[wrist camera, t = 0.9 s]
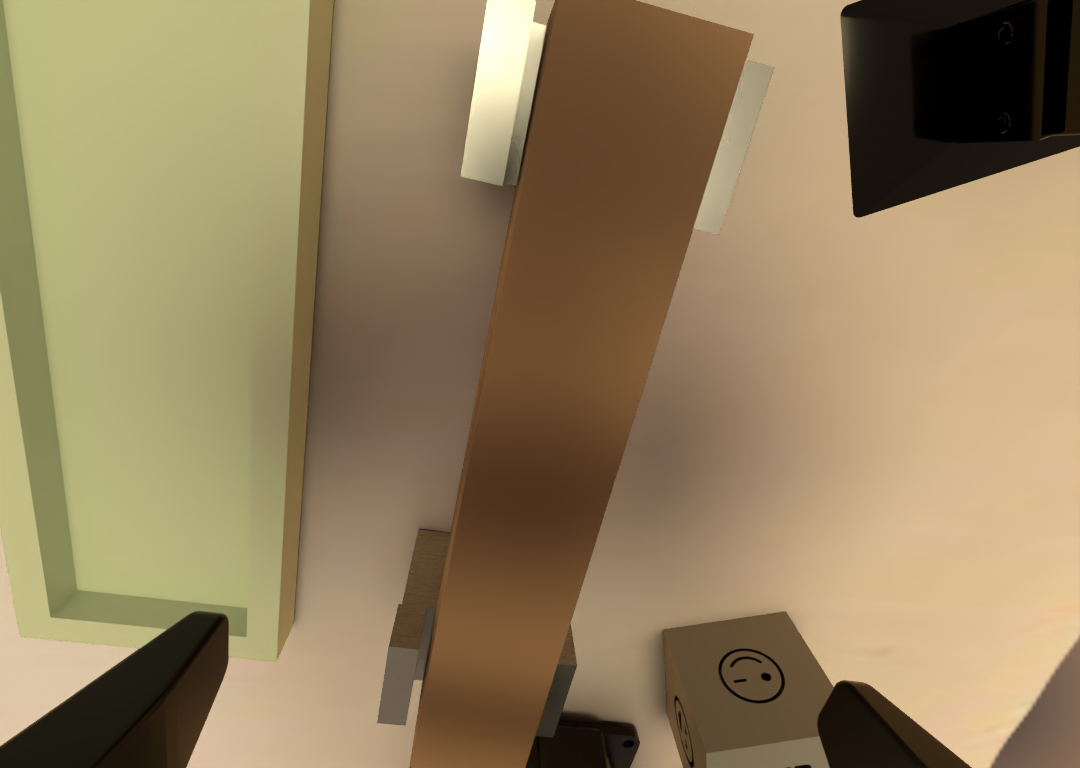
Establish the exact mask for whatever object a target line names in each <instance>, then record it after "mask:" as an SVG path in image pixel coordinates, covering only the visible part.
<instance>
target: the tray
mask: <svg viewBox="0 0 1080 768" xmlns="http://www.w3.org/2000/svg"><path fill="white" fill-rule="evenodd" d="M333 4H334V0H0V531H1V536H2V542H3V547H4V553H5V558H6V564H7V569H8V574H9V580H10V585H11V591H12V596H13V602H14V607H15V613H16V618H17V624H18V629H19V634H20V637H24V638H35V639H45V640H56V641H66V642H77V643H87V644H98V645H108V646H119V647H129V648H141V647H142V646H144V645H145V644H147V643H148V642H150V641H151V640H152V639H154V638H155V637H157V636H158V635H160V634H161V633H162V632H164V631H165V630H167V629H168V628H170V627H171V626H172V625H174V624H175V623H177V622H178V621H180V620H181V619H182V618H184V617H185V616H187V615H188V614H190V613H192V612H195V611H206V612H216V613H223V614H226V615H227V617H228V620H229V657H234V658H245V659H255V660H265V661H276V662H277V659H278V657H279V655H280V653H281V650H282V648H283V646H284V644H285V642H286V639H287V637H288V635H289V633H290V630H291V628H292V626H293V624H294V612H295V596H296V581H297V565H298V550H299V534H300V518H301V503H302V487H303V472H304V456H305V440H306V425H307V409H308V394H309V378H310V362H311V347H312V331H313V316H314V300H315V284H316V269H317V253H318V238H319V222H320V207H321V191H322V175H323V160H324V144H325V129H326V113H327V97H328V82H329V66H330V51H331V35H332V19H333Z"/></svg>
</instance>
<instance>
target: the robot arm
mask: <svg viewBox="0 0 1080 768" xmlns="http://www.w3.org/2000/svg"><path fill="white" fill-rule="evenodd" d="M228 658H229V620H228V617H227V615H226V614H223V613H216V612H206V611H195V612H192V613H190V614H188V615H187V616H185V617H184V618H182V619H181V620H180V621H178V622H177V623H175V624H174V625H172V626H171V627H170V628H168V629H167V630H165V631H164V632H162V633H161V634H160V635H158V636H157V637H155V638H154V639H152V640H151V641H150V642H148V643H147V644H145V645H144V646H142V647H141V648H140V649H138V650H137V651H135V652H134V653H133V654H131V655H130V656H128V657H127V658H125V659H124V660H123V661H121V662H120V663H118V664H117V665H115V666H114V667H113V668H111V669H110V670H108V671H107V672H105V673H104V674H103V675H101V676H100V677H98V678H97V679H95V680H94V681H93V682H91V683H90V684H88V685H87V686H85V687H84V688H83V689H81V690H80V691H78V692H77V693H75V694H74V695H73V696H71V697H70V698H68V699H67V700H65V701H64V702H63V703H61V704H60V705H58V706H57V707H55V708H54V709H53V710H51V711H50V712H48V713H47V714H46V715H44V716H43V717H41V718H40V719H38V720H37V721H36V722H34V723H33V724H31V725H30V726H28V727H27V728H26V729H24V730H23V731H21V732H20V733H18V734H17V735H16V736H14V737H13V738H11V739H10V740H8V741H7V742H6V743H4V744H3V745H1V746H0V768H186V767H187V764H188V762H189V760H190V757H191V755H192V752H193V750H194V748H195V745H196V743H197V740H198V738H199V736H200V733H201V731H202V728H203V726H204V724H205V721H206V719H207V716H208V714H209V712H210V709H211V707H212V704H213V702H214V700H215V697H216V695H217V693H218V690H219V688H220V685H221V683H222V681H223V678H224V675H225V672H226V669H227V665H228ZM817 728H818V733H819V737H820V740H821V743H822V746H823V749H824V752H825V755H826V758H827V761H828V764H829V768H971V767H970V766H969V765H968V764H966V763H965V762H964V761H963V760H962V759H960V758H959V757H958V756H957V755H955V754H954V753H953V752H952V751H950V750H949V749H948V748H947V747H946V746H944V745H943V744H942V743H941V742H939V741H938V740H937V739H936V738H934V737H933V736H932V735H931V734H930V733H928V732H927V731H926V730H925V729H923V728H922V727H921V726H920V725H918V724H917V723H916V722H915V721H914V720H912V719H911V718H910V717H909V716H907V715H906V714H905V713H904V712H902V711H901V710H900V709H899V708H898V707H896V706H895V705H894V704H893V703H891V702H890V701H889V700H888V699H886V698H885V697H884V696H883V695H882V694H880V693H879V692H878V691H877V690H875V689H874V688H873V687H872V686H870V685H868V684H866V683H863V682H855V681H846V680H843V681H840V682H838V683H837V684H836V685H835V686H834V688H833V690H832V692H831V693H830V695H829V697H828V699H827V700H826V702H825V704H824V706H823V707H822V709H821V711H820V713H819V715H818V719H817ZM639 744H640V741H639V736H638V732H637V730H635V729H634V728H631V727H622V726H611V725H599V724H588V723H576V722H564V721H559V722H558V725H557V728H556V731H555V734H554V737H541V736H535V738H534V741H533V745H532V748H531V751H530V754H529V757H528V761H527V764H526V767H525V768H630V766H631V764H632V761H633V759H634V757H635V754H636V752H637V749H638V747H639Z"/></svg>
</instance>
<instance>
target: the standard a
mask: <svg viewBox="0 0 1080 768" xmlns="http://www.w3.org/2000/svg"><path fill="white" fill-rule="evenodd" d="M449 539H450V533H445V532H437V531H429V530H422V529H419V530H418V535H417V539H416V544H415V548H414V553H413V557H412V562H411V566H410V571H409V575H408V580H407V584H406V589H405V593H404V598H403V602H402V604H399V605H398V609H397V613H396V618H395V622H394V626H393V631H392V635H391V639H390V644H389V649H388V656H387V662H386V669H385V675H384V682H383V688H382V695H381V701H380V708H379V715H378V721H377V723H383V724H395V725H406V719H407V714H408V708H409V702H410V697H411V691H412V686H413V680H423V676H424V671H425V665H426V660H427V655H428V650H429V644H430V639H431V634H432V628H433V623H434V618H435V613H436V607H437V602H438V597H439V591H440V586H441V581H442V576H443V570H444V565H445V560H446V554H447V549H448V544H449ZM576 667H577V663H576V656H575V650H574V643H573V636H572V629H571V624H570V626H569V629H568V632H567V635H566V639H565V642H564V645H563V648H562V652H561V655H560V658H559V661H558V664H557V668H556V671H555V674H554V677H553V680H552V684H551V687H550V690H549V693H548V696H547V700H546V703H545V706H544V709H543V712H542V716H541V719H540V722H539V725H538V729H537V732H536V735H535V736H541V737H554V734H555V731H556V728H557V725H558V722H559V719H560V716H561V712H562V709H563V706H564V703H565V700H566V697H567V694H568V691H569V688H570V685H571V682H572V679H573V676H574V673H575V670H576Z"/></svg>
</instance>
